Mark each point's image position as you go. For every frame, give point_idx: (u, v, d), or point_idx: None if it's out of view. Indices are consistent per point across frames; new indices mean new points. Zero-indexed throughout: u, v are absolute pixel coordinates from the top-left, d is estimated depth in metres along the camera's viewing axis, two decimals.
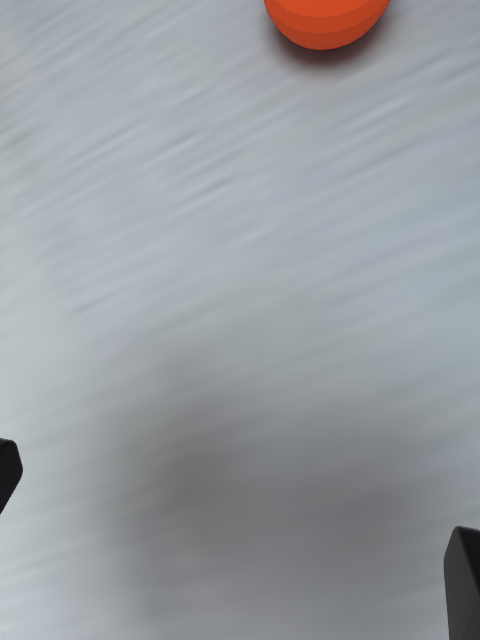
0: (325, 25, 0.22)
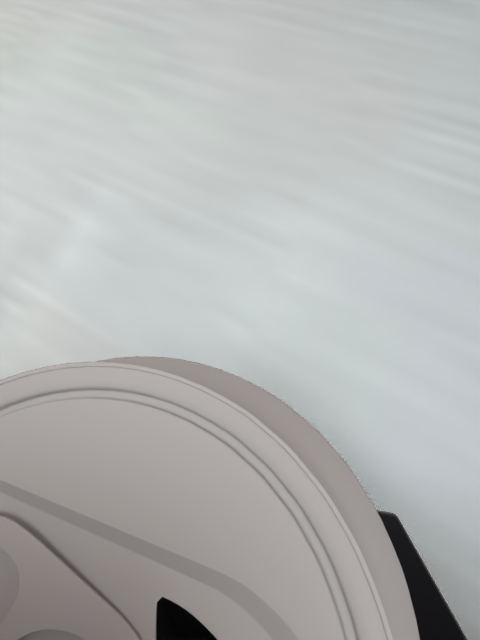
0: None
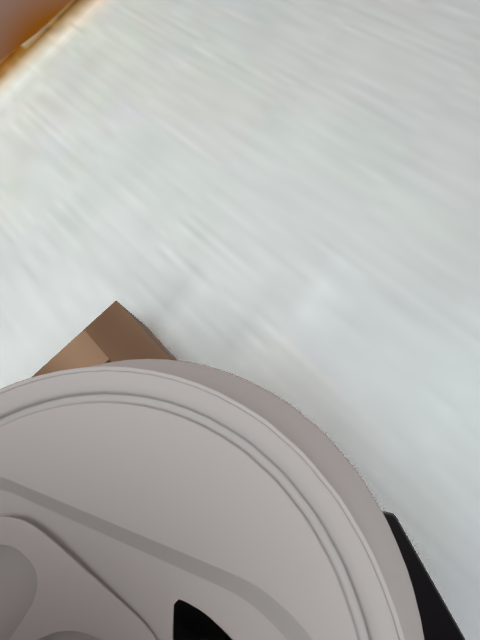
0: None
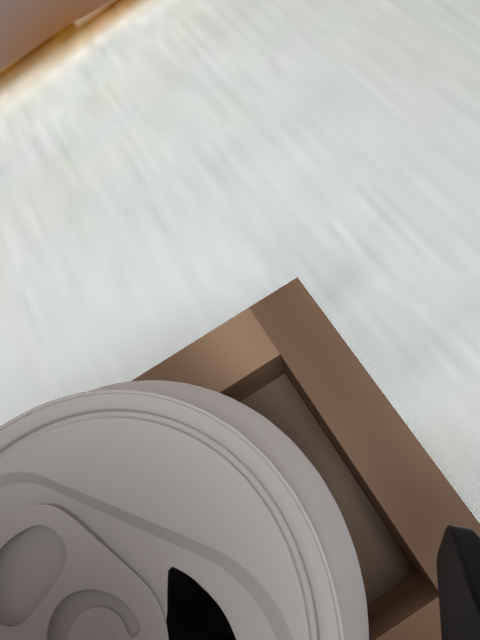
0: None
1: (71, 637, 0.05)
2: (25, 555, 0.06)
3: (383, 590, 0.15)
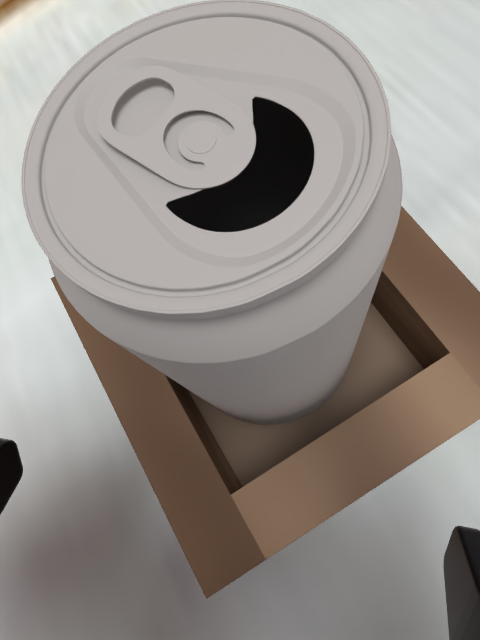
0: None
1: (182, 135, 0.07)
2: (140, 108, 0.07)
3: None
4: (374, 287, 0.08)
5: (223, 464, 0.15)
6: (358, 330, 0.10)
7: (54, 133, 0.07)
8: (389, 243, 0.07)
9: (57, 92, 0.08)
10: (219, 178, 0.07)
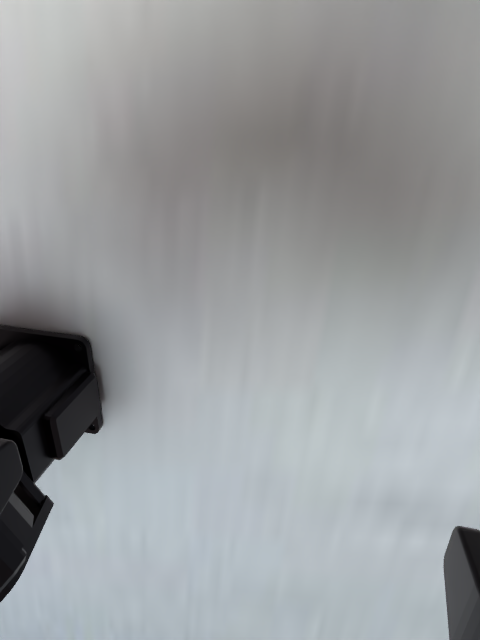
0: None
1: None
2: None
3: None
4: None
5: None
6: None
7: None
8: None
9: None
10: None
